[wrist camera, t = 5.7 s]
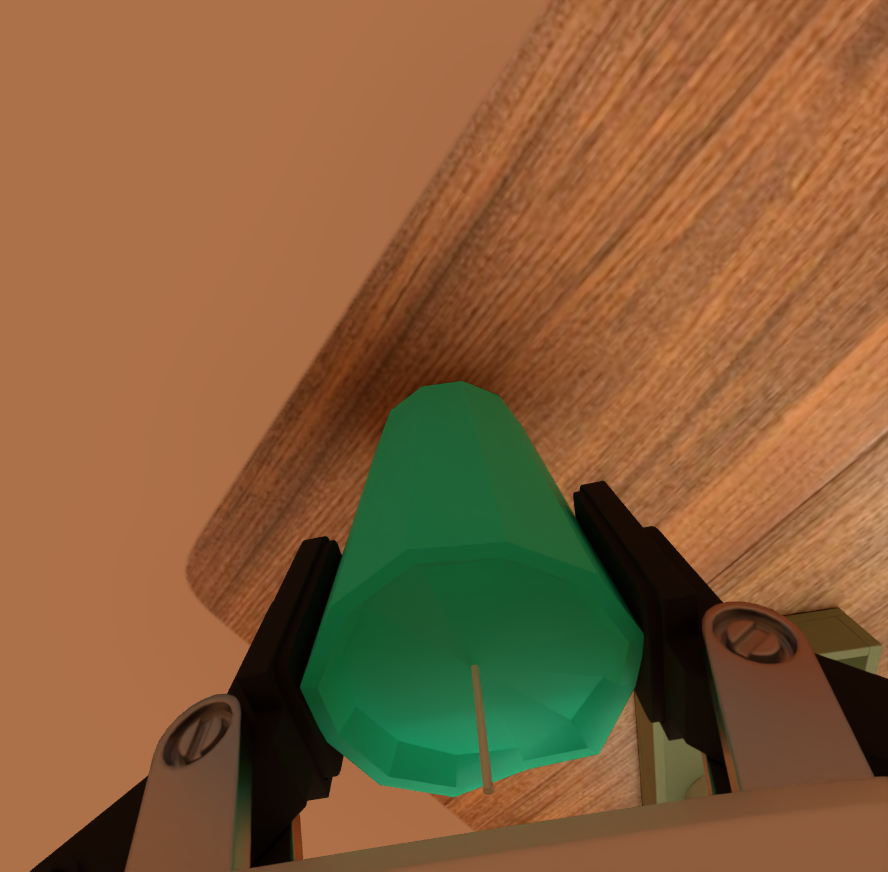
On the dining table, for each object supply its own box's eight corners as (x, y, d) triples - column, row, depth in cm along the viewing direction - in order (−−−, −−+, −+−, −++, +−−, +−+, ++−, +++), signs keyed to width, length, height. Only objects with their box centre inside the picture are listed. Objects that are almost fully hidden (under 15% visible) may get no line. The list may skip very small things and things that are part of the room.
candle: (372, 509, 18) (273, 899, 7) (383, 371, 16) (264, 605, 5) (510, 523, 18) (633, 911, 7) (539, 390, 16) (775, 645, 5)
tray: (647, 879, 33) (662, 926, 31) (630, 639, 24) (650, 679, 22) (798, 863, 32) (826, 910, 30) (838, 607, 23) (882, 645, 21)
